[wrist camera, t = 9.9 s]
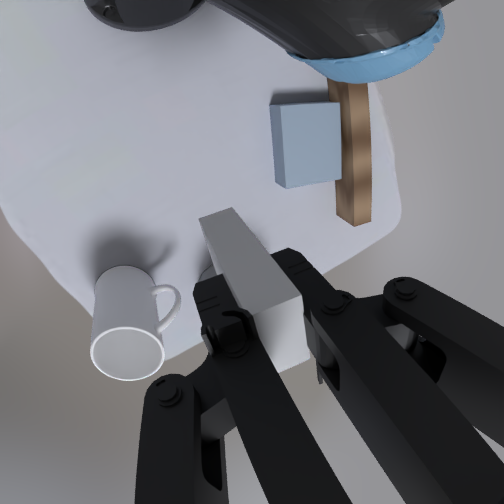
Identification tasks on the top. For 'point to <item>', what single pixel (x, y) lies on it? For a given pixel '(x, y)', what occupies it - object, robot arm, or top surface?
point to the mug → (128, 324)
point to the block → (306, 142)
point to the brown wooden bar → (353, 152)
